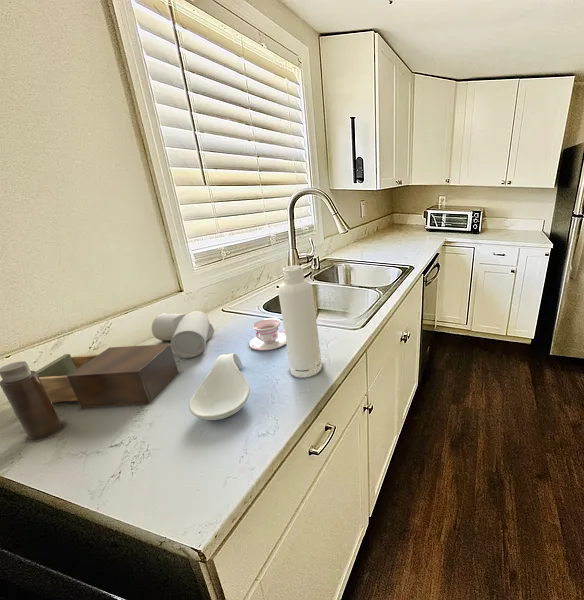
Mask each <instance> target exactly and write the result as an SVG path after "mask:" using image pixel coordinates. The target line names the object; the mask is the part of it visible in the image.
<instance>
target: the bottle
mask: <svg viewBox="0 0 584 600" xmlns="http://www.w3.org/2000/svg"><path fill="white" fill-rule="evenodd" d="M281 269H282V274H283V283H281V284H280V285H279V287H278V289H277V292H278V299H279V305H280V306H279V307H280V312H281V318H282V326H283V330H284V331H283V332H285V338H286V344H285V345H286V351H287V357H288V363H289V369H290V373H291V375H292V376H293V377H295V378H308V377H313V376H315V375H317V374H318V373H320V372H321V370H322V368H323V366H322V365H323V364H322V358H321V348H320V347H321V346H320V340H319V339H320V338H319V331H318V323H317V314H316V304H315V297H314V295H315V294H314V288H313V285H312V283H310V282H309V281H308V280H306V279H305V274H304V272H305V271H304V266H303V265H298V264H295V265H293V264H292V265H288V266H287V265H286V266H284V267H282V268H281Z"/></svg>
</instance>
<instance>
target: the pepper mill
mask: <svg viewBox="0 0 584 600" xmlns="http://www.w3.org/2000/svg"><path fill="white" fill-rule="evenodd" d="M36 371H37V370H31V369H30V367H29V365H28V363H27V361H23V360H22V361H21V360H20V361H16V362H11V363H8V364H5V365H3V366H1V367H0V377H1V380H0V389H1V390H2V391H3V394H4V395H5V397H6V399H7V402H8V403H9V404H10V406H11V408H12V410H13V412H14V413H15V415H16V417H17V419H18V421H19V423H20V425H21V426H22V428H23V430H24V432H25V434H26V435H27V438H28V439H29V440H39V439H43V438H46V437H48V436H51V435H52V434H55V433H56V432H57V431H59V430H60V429H61V427H62V425H63V424H62V422H61V420H60V418H59V416H58V414H57V411H56V410H55V408H54V405H53V404H52V403H53V402H51V401H50V399H49V397H48V395H47V393H46V391H45V389H44V387H43V385H42V383H41V381H40V379H39V377H38V375H37V373H36Z"/></svg>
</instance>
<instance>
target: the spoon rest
mask: <svg viewBox="0 0 584 600" xmlns="http://www.w3.org/2000/svg"><path fill="white" fill-rule="evenodd" d="M242 367H243V362H242V360H241V359H240V357H239V356H238V354H237V353H235V352H231V353H229V354H228V353H227V354H220V355H218V357H217V358H216V360H215V362H214V363H213V365H212V367H211V369H210V371H208V373H207V375H206V376H205V378H204V379H203V380H202V382H201V383H200V384H199V385H198V387H197V388H196V390H195V392H194V394H193V395H192V396H191V398H190V401H189V403H188V409H189V412H190V413H191V414H192V415H193V416H194V417H195V418H198V419H201V420H205V421H217V420H223V419H226V418H229V417H230V416H233V415H234V414H236V413H237V412H239V411H240V410H241V409H243V407H244V406H245V404H246V403H247V401H248V399H249V396H250V393H251V391H250V390H251V389H250V385H249V382H248V380H247V378H246V377H245V375H244V374H243V373H242V371H241V370H240V369H241V368H242Z"/></svg>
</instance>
